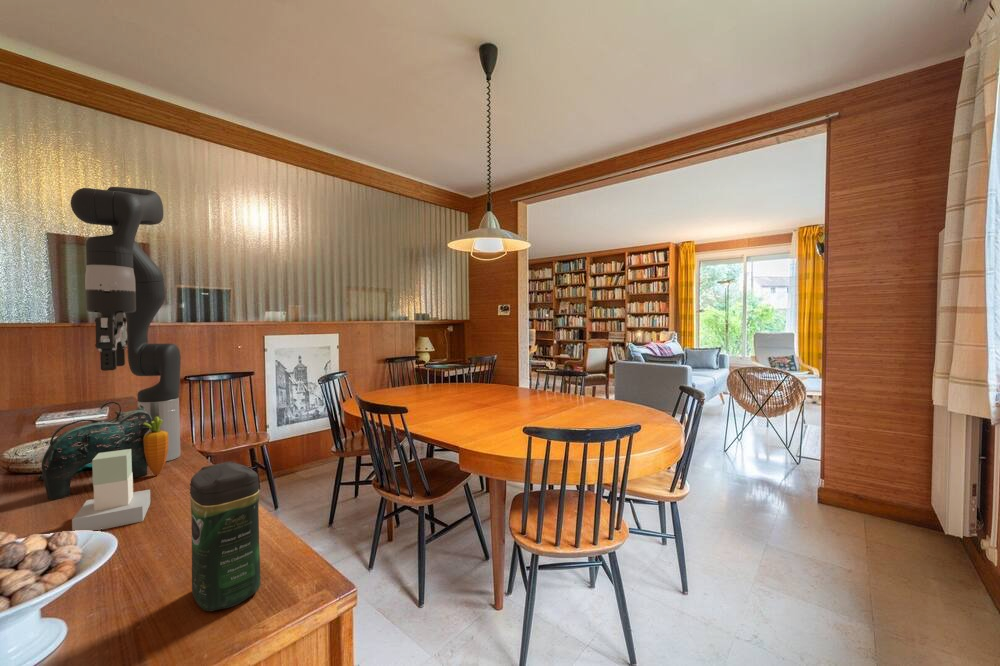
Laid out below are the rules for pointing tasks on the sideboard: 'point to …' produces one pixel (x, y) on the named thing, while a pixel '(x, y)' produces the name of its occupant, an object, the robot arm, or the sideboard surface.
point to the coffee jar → (224, 535)
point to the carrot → (156, 446)
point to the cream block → (113, 494)
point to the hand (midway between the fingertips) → (113, 368)
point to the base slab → (112, 514)
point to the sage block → (112, 466)
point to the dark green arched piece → (94, 448)
